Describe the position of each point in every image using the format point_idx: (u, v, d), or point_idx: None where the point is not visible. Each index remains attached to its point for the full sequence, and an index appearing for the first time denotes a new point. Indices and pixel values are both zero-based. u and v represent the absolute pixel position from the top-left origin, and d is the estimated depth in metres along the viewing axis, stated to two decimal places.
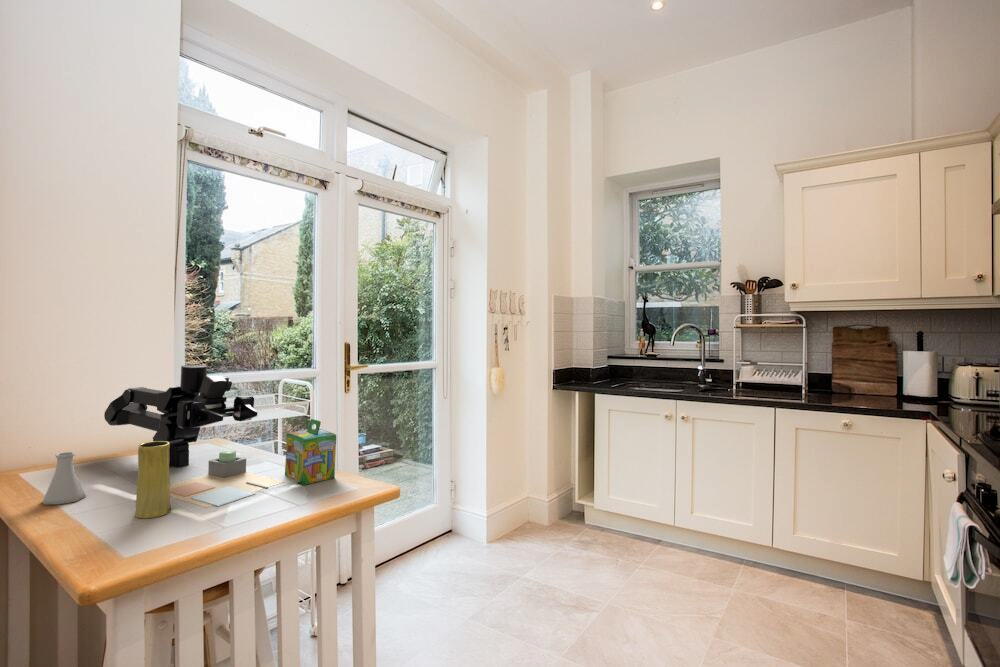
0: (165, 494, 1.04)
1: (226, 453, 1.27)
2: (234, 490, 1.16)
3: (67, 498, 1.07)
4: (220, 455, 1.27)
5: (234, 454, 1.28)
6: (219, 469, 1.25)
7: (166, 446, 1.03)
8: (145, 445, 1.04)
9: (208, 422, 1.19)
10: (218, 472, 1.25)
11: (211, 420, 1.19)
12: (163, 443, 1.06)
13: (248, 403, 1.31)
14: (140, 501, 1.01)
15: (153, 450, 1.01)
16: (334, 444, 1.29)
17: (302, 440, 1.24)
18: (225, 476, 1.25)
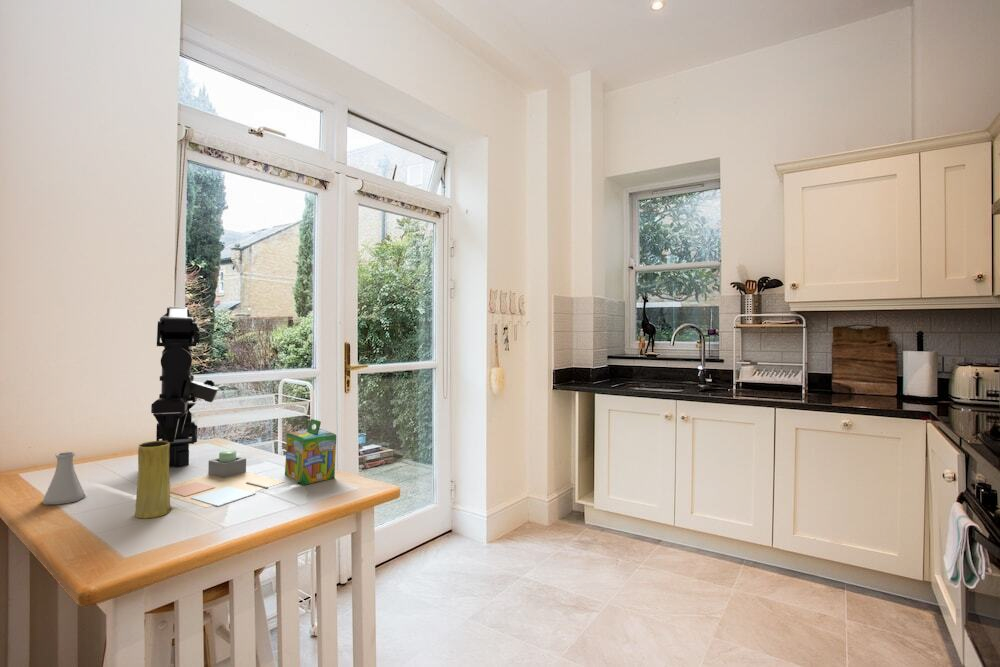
0: (165, 494, 1.04)
1: (226, 453, 1.27)
2: (234, 490, 1.16)
3: (67, 498, 1.07)
4: (220, 455, 1.27)
5: (234, 454, 1.28)
6: (219, 469, 1.25)
7: (166, 446, 1.03)
8: (145, 445, 1.04)
9: (163, 429, 1.12)
10: (218, 472, 1.25)
11: (167, 432, 1.13)
12: (163, 443, 1.06)
13: None
14: (140, 501, 1.01)
15: (153, 450, 1.01)
16: (334, 444, 1.29)
17: (302, 440, 1.24)
18: (225, 476, 1.25)
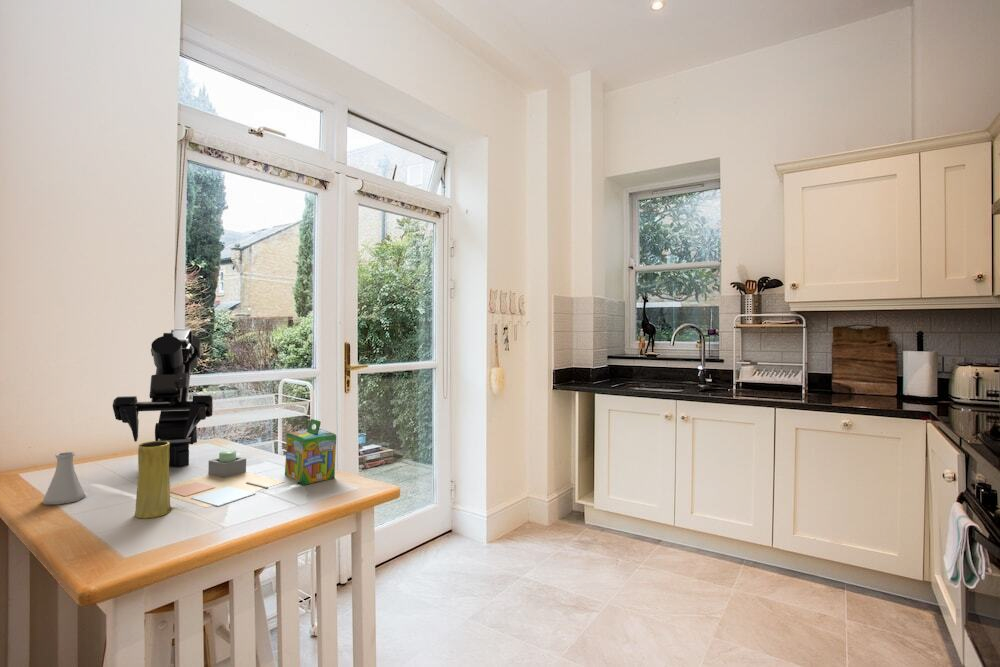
0: (165, 494, 1.04)
1: (226, 453, 1.27)
2: (234, 490, 1.16)
3: (67, 498, 1.07)
4: (220, 455, 1.27)
5: (234, 454, 1.28)
6: (219, 469, 1.25)
7: (166, 446, 1.03)
8: (145, 445, 1.04)
9: None
10: (218, 472, 1.25)
11: None
12: (163, 443, 1.06)
13: (196, 412, 1.16)
14: (140, 501, 1.01)
15: (153, 450, 1.01)
16: (334, 444, 1.29)
17: (302, 440, 1.24)
18: (225, 476, 1.25)
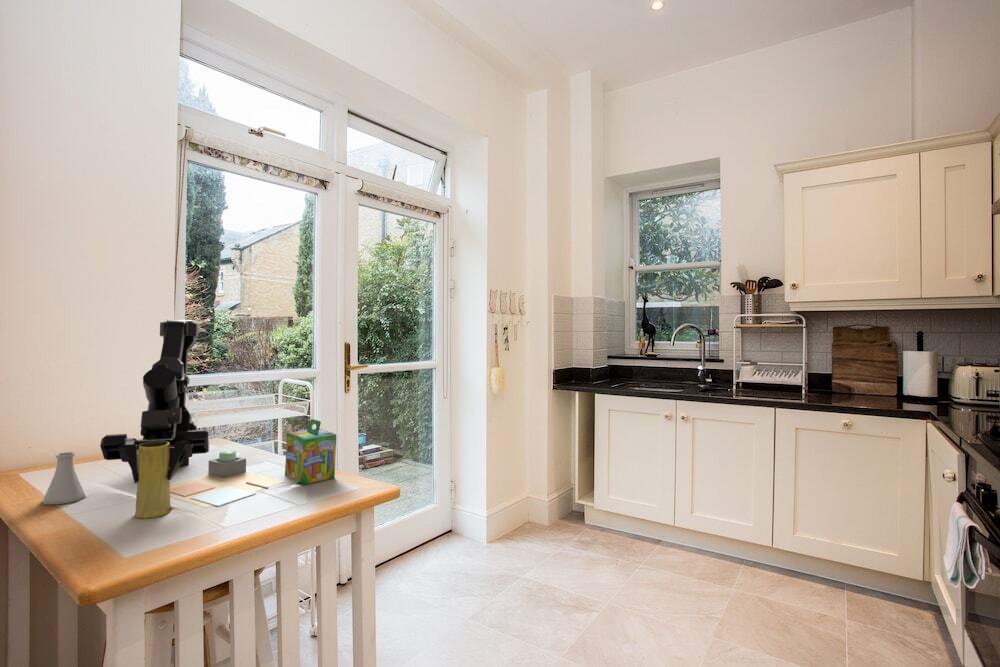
0: (165, 494, 1.03)
1: (226, 453, 1.27)
2: (234, 490, 1.16)
3: (67, 498, 1.07)
4: (220, 455, 1.27)
5: (234, 454, 1.28)
6: (219, 469, 1.25)
7: (166, 446, 1.03)
8: (145, 445, 1.04)
9: None
10: (218, 472, 1.25)
11: None
12: (163, 443, 1.06)
13: (181, 450, 1.07)
14: (140, 501, 1.01)
15: (153, 450, 1.01)
16: (334, 444, 1.29)
17: (302, 440, 1.24)
18: (225, 476, 1.25)
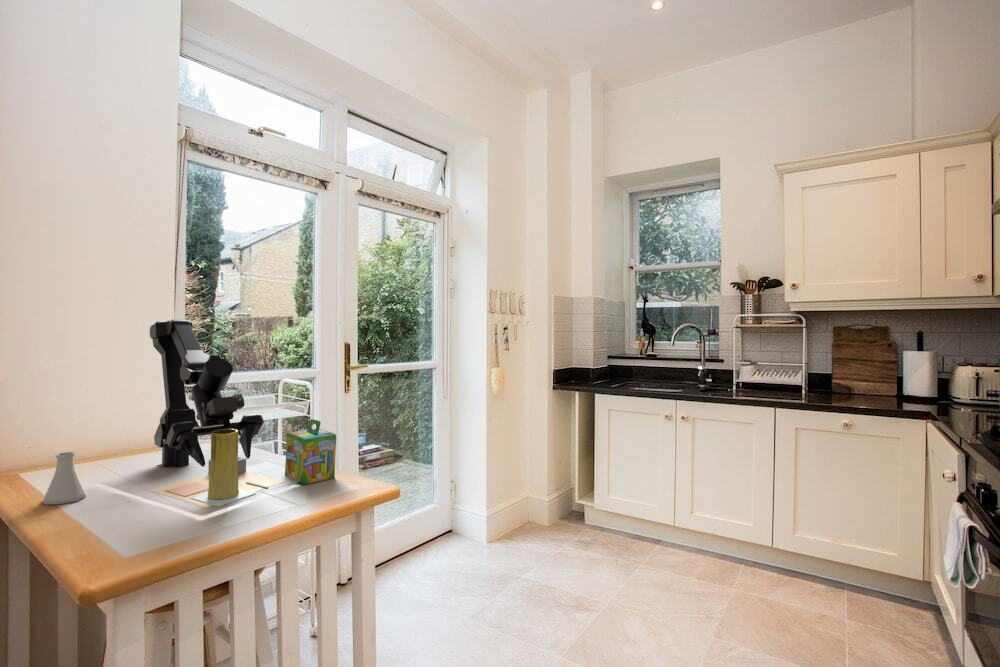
0: (237, 476, 1.13)
1: None
2: None
3: (67, 498, 1.07)
4: None
5: None
6: None
7: (237, 432, 1.13)
8: None
9: (192, 456, 1.09)
10: None
11: (195, 458, 1.09)
12: (227, 430, 1.15)
13: (251, 432, 1.18)
14: (217, 484, 1.10)
15: (230, 436, 1.11)
16: (334, 444, 1.29)
17: (302, 440, 1.24)
18: None
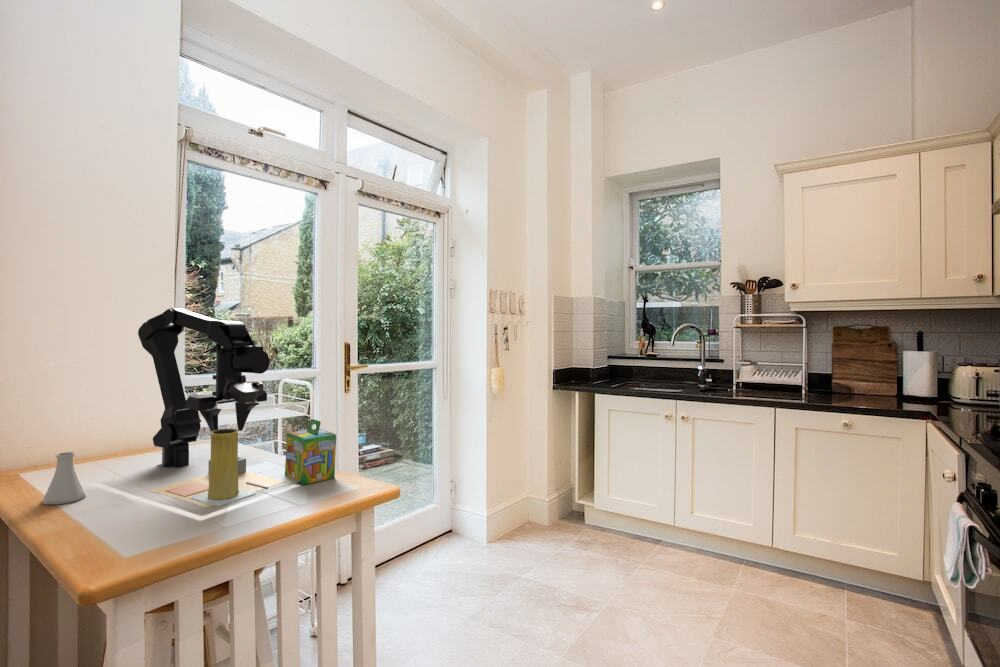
0: (237, 476, 1.13)
1: None
2: None
3: (67, 498, 1.07)
4: None
5: None
6: None
7: (237, 432, 1.13)
8: None
9: (207, 422, 1.25)
10: None
11: (209, 425, 1.24)
12: (227, 431, 1.15)
13: (251, 409, 1.32)
14: (217, 484, 1.10)
15: (230, 436, 1.11)
16: (334, 444, 1.29)
17: (302, 440, 1.24)
18: None
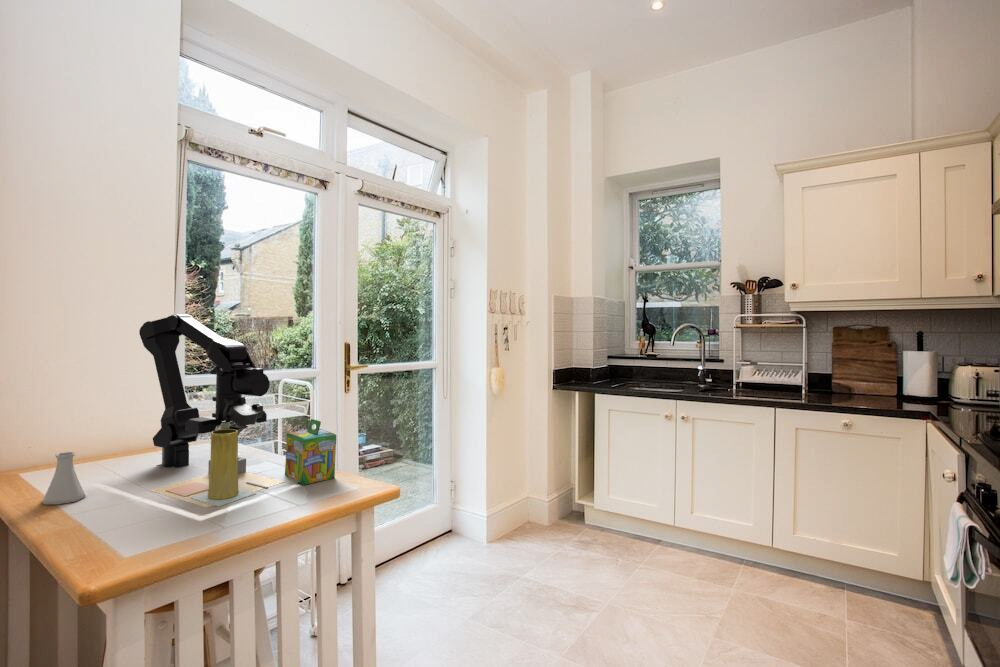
0: (237, 476, 1.13)
1: None
2: None
3: (67, 498, 1.07)
4: None
5: None
6: None
7: (237, 432, 1.13)
8: None
9: None
10: None
11: None
12: (227, 430, 1.15)
13: (239, 432, 1.29)
14: (217, 484, 1.10)
15: (230, 436, 1.11)
16: (334, 444, 1.30)
17: (302, 440, 1.24)
18: None
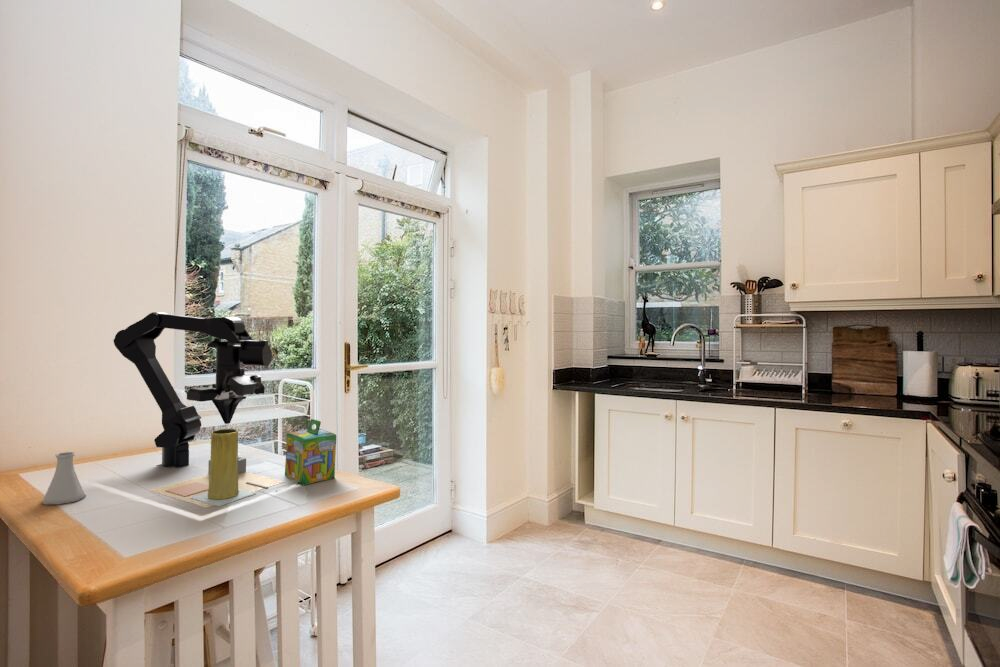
0: (237, 476, 1.13)
1: None
2: None
3: (67, 498, 1.07)
4: None
5: None
6: None
7: (237, 432, 1.13)
8: None
9: (219, 411, 1.34)
10: None
11: (221, 414, 1.34)
12: (227, 431, 1.15)
13: (238, 402, 1.35)
14: (217, 484, 1.10)
15: (230, 436, 1.11)
16: (334, 444, 1.29)
17: (302, 440, 1.24)
18: None
